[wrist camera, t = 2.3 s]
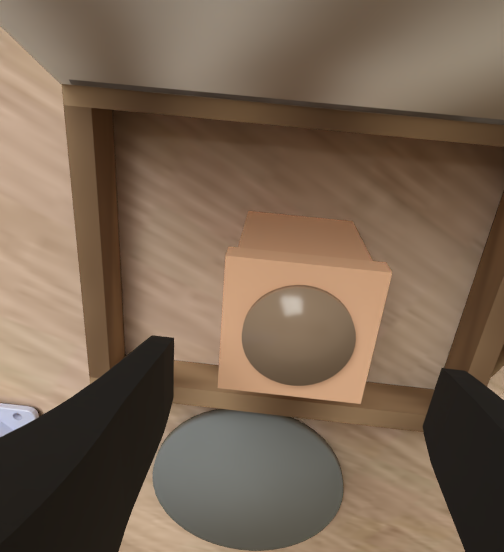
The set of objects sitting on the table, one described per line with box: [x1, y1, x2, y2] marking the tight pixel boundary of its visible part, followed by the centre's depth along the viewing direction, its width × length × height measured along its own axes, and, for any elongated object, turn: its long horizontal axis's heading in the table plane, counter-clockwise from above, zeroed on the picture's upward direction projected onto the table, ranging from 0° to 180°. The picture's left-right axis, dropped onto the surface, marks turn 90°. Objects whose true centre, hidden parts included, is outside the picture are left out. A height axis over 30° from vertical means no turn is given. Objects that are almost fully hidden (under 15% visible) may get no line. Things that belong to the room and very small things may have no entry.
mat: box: [153, 409, 343, 551], centre depth 25 cm, size 11×11×1 cm
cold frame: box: [0, 0, 504, 432], centre depth 12 cm, size 19×19×13 cm
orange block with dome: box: [218, 211, 392, 404], centre depth 16 cm, size 5×5×6 cm
